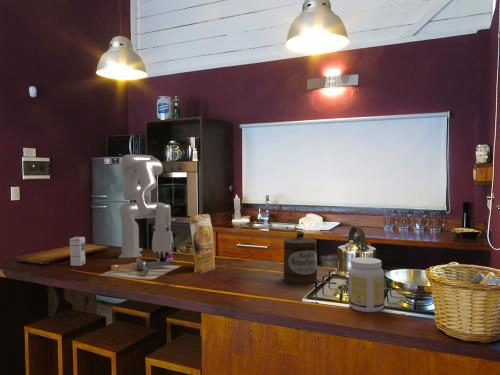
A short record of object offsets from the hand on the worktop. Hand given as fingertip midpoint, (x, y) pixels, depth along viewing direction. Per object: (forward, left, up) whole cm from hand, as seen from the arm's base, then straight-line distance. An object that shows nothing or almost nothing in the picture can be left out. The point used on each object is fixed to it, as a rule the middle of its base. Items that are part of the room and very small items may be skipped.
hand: (163, 264), depth 199 cm
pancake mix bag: (-3, +21, -2) cm, 21 cm away
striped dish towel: (+9, -6, -2) cm, 11 cm away
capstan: (+9, -6, -1) cm, 11 cm away
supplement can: (-13, -6, -2) cm, 14 cm away
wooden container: (0, +70, -3) cm, 70 cm away
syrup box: (+3, -49, -2) cm, 49 cm away
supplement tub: (+30, +99, -2) cm, 103 cm away
